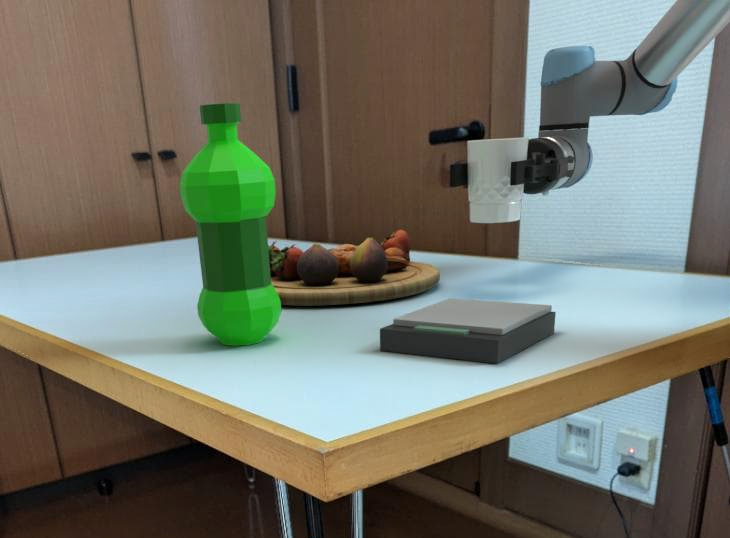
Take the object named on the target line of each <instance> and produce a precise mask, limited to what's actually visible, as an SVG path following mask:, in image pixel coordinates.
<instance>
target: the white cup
mask: <svg viewBox="0 0 730 538" xmlns="http://www.w3.org/2000/svg"><path fill="white" fill-rule="evenodd" d="M529 139H530V138H529V137H528V136H527V137H525V136H524V137H509V138H508V137H507V138H489V139H474V140H473V139H472V140H467V141H466V145H467V146H466V150H467V151H466V153H467V159H466V160H467V161H466V162H468V188H467V193H468V195H467V197H468V199H467V200H468V202H469V204H468V205H469V206H468V207H469V208H468V209H469V215H468V216H469V222H470V223H474V224H475V223H476V224H495V223H496V224H497V223H498V224H501V223H511V222H517V221H520V220H521V213H522V199H523V197H524V193H523V190H524V184H520V185H511V186H510V175H511V162H515V161H522V160H527V151H528V141H529Z"/></svg>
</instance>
